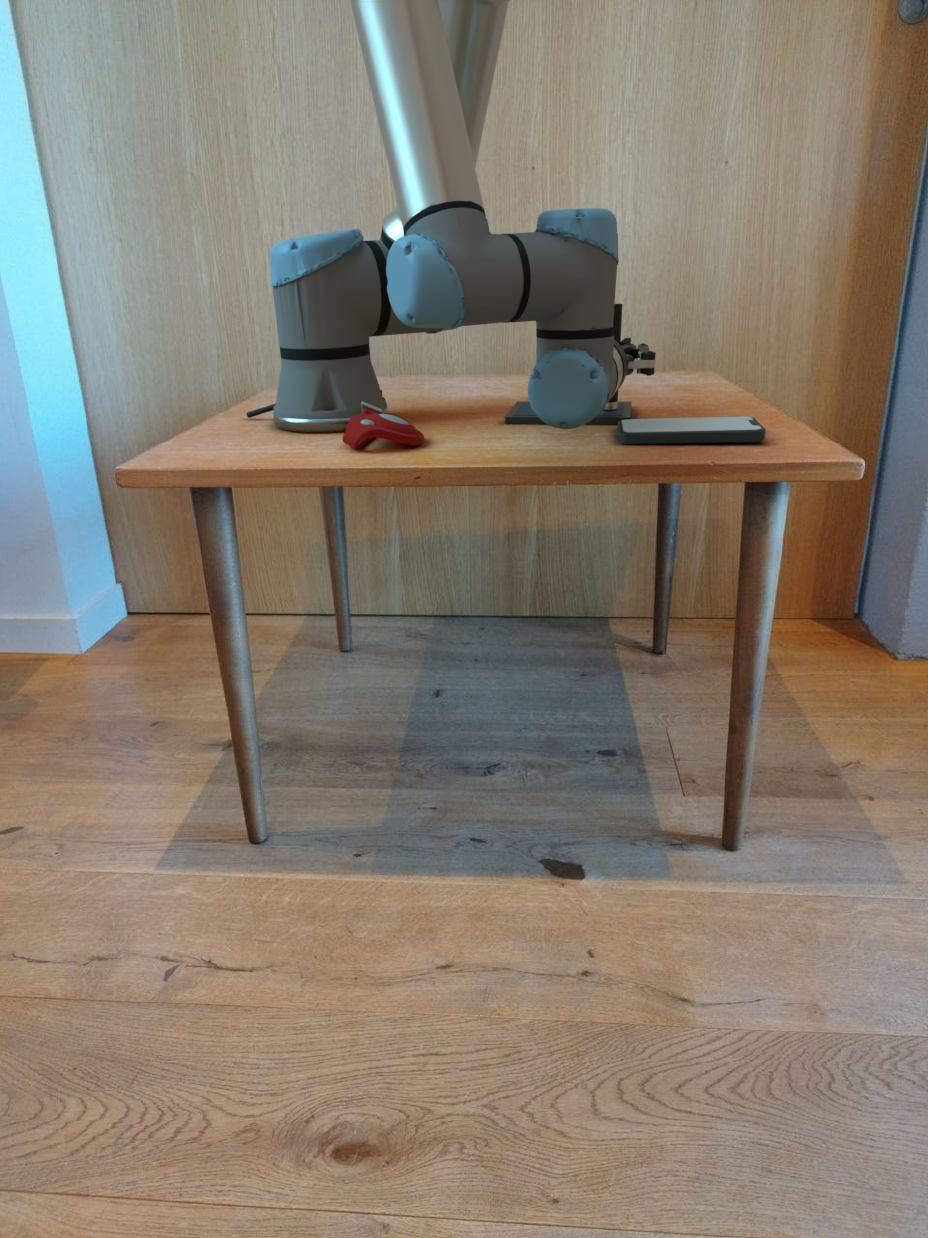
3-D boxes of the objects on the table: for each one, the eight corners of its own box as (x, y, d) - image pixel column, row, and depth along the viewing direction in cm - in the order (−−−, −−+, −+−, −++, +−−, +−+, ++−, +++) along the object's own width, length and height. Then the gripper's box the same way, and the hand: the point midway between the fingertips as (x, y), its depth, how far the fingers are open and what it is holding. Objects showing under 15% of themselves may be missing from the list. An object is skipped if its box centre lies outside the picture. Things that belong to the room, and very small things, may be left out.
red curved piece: (443, 431, 97) (382, 424, 89) (432, 467, 98) (372, 463, 90) (376, 398, 103) (314, 389, 95) (367, 432, 105) (305, 425, 97)
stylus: (596, 409, 108) (600, 303, 103) (601, 407, 110) (606, 303, 105) (614, 410, 107) (619, 303, 102) (619, 408, 109) (624, 303, 104)
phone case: (619, 447, 93) (766, 444, 90) (619, 433, 92) (768, 429, 90) (617, 431, 101) (752, 428, 98) (617, 418, 100) (753, 415, 98)
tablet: (505, 423, 106) (505, 416, 106) (517, 407, 117) (517, 400, 116) (630, 424, 103) (631, 416, 103) (631, 408, 114) (631, 401, 113)
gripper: (521, 404, 94) (559, 376, 114) (658, 407, 89) (672, 377, 110) (521, 335, 91) (560, 319, 111) (662, 335, 86) (676, 318, 107)
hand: (616, 348), depth 111 cm, fingers closed on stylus, 2 cm apart
